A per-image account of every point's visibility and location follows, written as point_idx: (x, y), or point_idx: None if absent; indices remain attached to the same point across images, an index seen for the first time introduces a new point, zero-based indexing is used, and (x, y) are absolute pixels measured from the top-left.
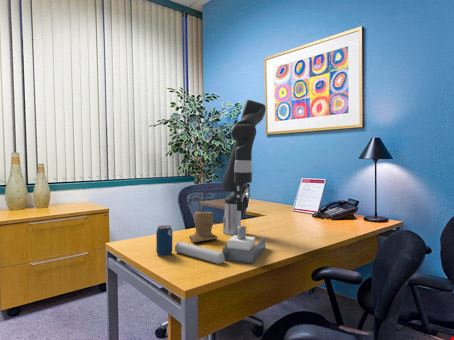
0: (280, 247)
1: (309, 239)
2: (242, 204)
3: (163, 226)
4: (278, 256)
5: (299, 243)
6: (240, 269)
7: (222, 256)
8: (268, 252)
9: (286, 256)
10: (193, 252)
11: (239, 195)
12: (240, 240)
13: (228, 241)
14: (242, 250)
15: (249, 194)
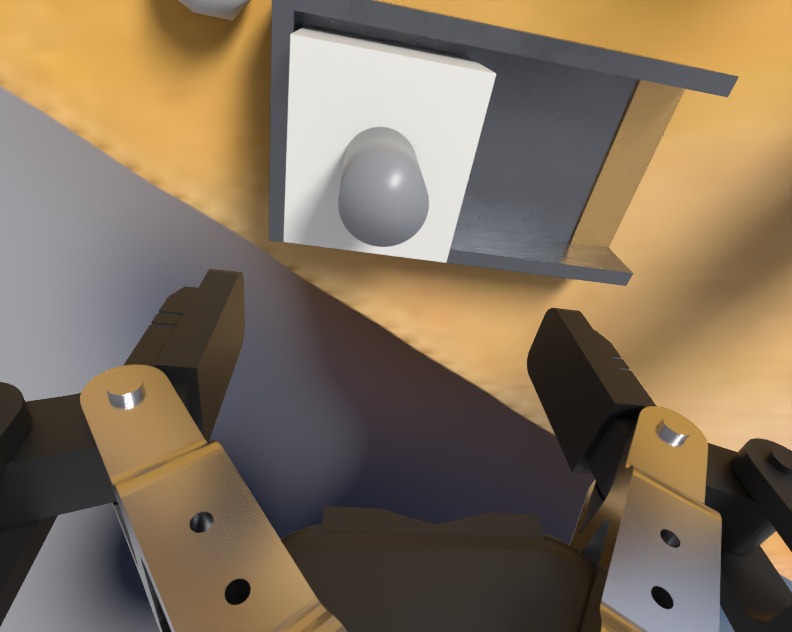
0: (603, 324)
1: (731, 432)
2: (217, 411)
3: None
4: (445, 321)
5: (668, 398)
6: (165, 151)
7: (185, 2)
8: (508, 273)
9: (451, 352)
10: None
11: (133, 545)
12: (318, 164)
13: (292, 44)
14: (273, 170)
15: (731, 567)
